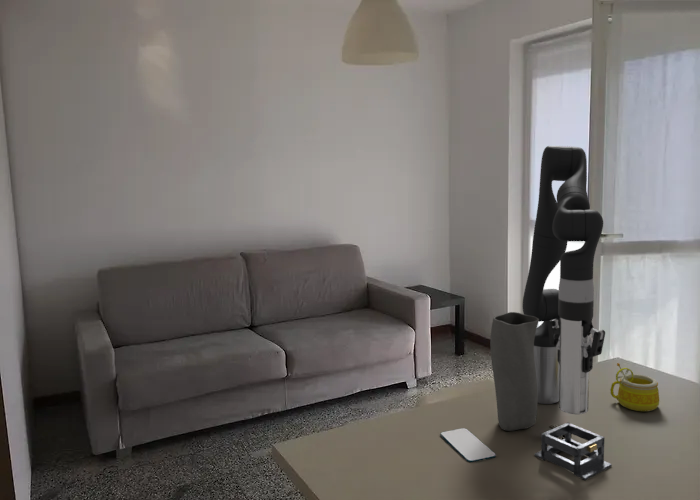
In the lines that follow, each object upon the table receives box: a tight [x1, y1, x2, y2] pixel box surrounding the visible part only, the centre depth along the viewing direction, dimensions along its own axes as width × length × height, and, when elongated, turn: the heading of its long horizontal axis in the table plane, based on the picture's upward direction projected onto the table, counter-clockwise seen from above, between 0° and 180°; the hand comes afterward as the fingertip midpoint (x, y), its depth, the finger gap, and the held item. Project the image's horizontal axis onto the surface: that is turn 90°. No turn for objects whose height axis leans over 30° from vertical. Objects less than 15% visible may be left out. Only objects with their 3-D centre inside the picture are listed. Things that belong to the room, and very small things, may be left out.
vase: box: [489, 311, 539, 432], centre depth 159 cm, size 12×12×30 cm
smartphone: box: [439, 427, 497, 463], centre depth 151 cm, size 8×1×16 cm
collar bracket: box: [533, 422, 613, 481], centre depth 141 cm, size 14×10×6 cm
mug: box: [609, 362, 660, 412], centre depth 170 cm, size 13×11×12 cm
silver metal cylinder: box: [558, 318, 591, 415], centre depth 138 cm, size 6×6×25 cm
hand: (574, 367), depth 138 cm, fingers closed on silver metal cylinder, 5 cm apart
